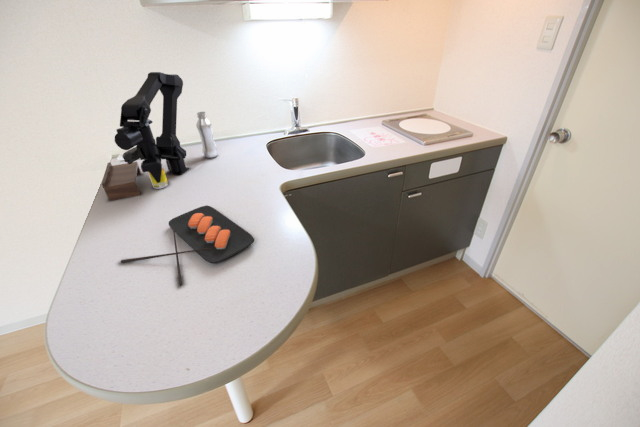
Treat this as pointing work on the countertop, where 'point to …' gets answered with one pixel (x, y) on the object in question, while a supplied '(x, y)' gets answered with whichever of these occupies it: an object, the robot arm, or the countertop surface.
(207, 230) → the sushi plate
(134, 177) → the shelf
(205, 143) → the plastic bottle
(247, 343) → the countertop surface
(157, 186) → the supplement bottle
